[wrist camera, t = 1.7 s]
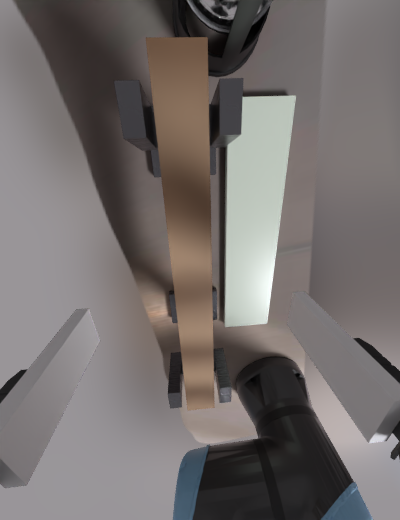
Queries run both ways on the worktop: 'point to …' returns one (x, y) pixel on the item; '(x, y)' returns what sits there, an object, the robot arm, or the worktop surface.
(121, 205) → the worktop surface
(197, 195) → the rail
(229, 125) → the rack
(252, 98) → the board
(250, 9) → the french press
